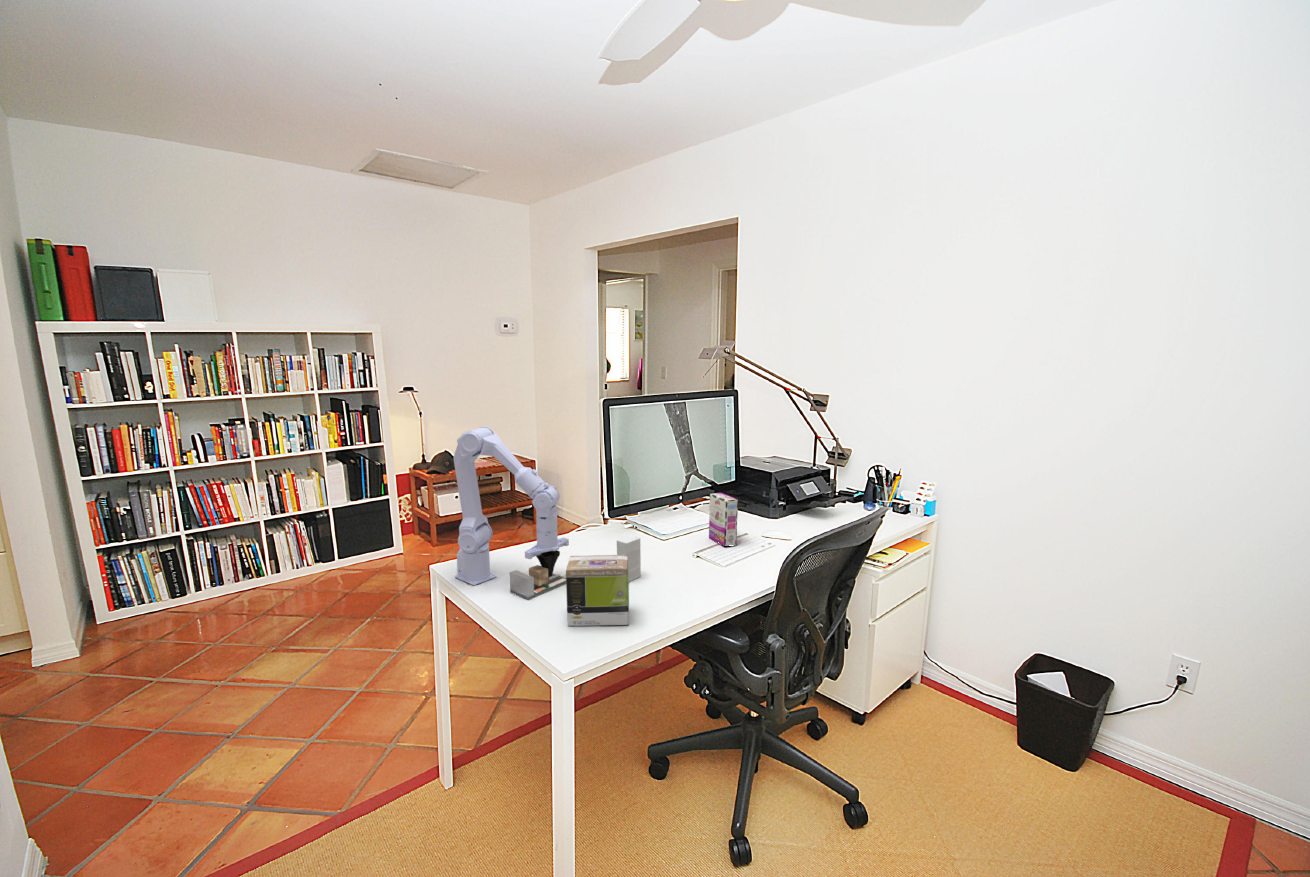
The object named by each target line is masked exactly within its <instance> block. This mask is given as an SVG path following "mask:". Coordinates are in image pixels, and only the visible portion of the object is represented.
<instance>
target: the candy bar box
mask: <svg viewBox="0 0 1310 877" xmlns="http://www.w3.org/2000/svg"><path fill="white" fill-rule="evenodd" d="M738 509H739V499H738V498H735V497H733V496H730V495H728V494H725V493H723V492H715V493H710V494H709V518H708V519H709V520H708V522H709V523H708V525H709V526H708V538H709V539H710V540H711V539H712V540H711V541H713V540H714V541H713V542H715V541H716V542H719V543H720V544H721V545H723V546H729V545H736V546H737V535H738V532H737V530H738V515H739V514H738ZM716 542H715V543H716ZM720 544H719V545H720ZM721 545H720V546H721ZM723 546H722V547H723Z"/></svg>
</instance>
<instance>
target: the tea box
mask: <svg viewBox="0 0 1310 877" xmlns="http://www.w3.org/2000/svg"><path fill="white" fill-rule="evenodd" d="M565 578H566V584H565V587H566V588H565V589H566V592H565V594H566V614H567V615H566V617H567V626H568V627H572V626H573V627H576V626H580V627H582V626H583V627H584V626H585V627H586V626H629V625H630V624H629V621H630V618H629V614H630V613H629V612H630V592H629V591H630V588H629V587H630V585H629V584H630V583H629V575H628V555H617V554H602V555H600V554H599V555H597V554H596V555H570V556H569V558H568V563H567V566H566V569H565Z"/></svg>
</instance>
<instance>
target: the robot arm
mask: <svg viewBox="0 0 1310 877" xmlns="http://www.w3.org/2000/svg"><path fill="white" fill-rule="evenodd" d="M456 442H457V444H456V447H455V448H456V449H455V451H454V453H453V465H454V472H455V477H456V483H457V491H458V497H459V502H460V503H459V504H460V507H461V509H460V510H461V515H462V520H461V521H460V522H461V523H460V525H459V527H458V531H459V532H458V533H459V535H458V538H457V544H458V546H459V550H458V551H457V554H456V567H457V568H456V570H457V574H456V575H454V577H455V578H457V579H459V580H460V581H462V582H464V583H467V584H470V585H472V586H475V585H478V584H481V583H484V582H487V581H490V580H492V579H495V578H497V574H495V573H492V572H491V565H490V563H491V562H490V541H491V539H492V537H493V529H492V526H490V524H489V520H488V518H487V516H486V515H485V514H483V510H482V503H481V502H482V501H481V496H480V495H481V494H480V489H479V488H480V487H479V483H478V478H477V476H478V475H477V469H476V464H475V461H476V460H477V459H478V457H479V456H489V457H494V458H495V459H496V460H497V461H498V462H499V463H501V465H503V466H504V467H505V468H506V469H507V470H508V471H509V472H510V473H512V475H514V482H515V483H516V484H517V485H518V486H519V488H521V490H522V491H524V493H526V495H528V497H529V498H531V499H532V501H531V502H532V505H533V507H534V509H535V511H536V513H535V514H536V515H535V516H536V517H535V518H536V519H535V520H536V523H535V524H536V544H535V545H534V546H532V547H531V548H529V549H527V550H525V551H524V558H525V559H527V560H533V558H535V557H536V558H537V561H538V562H539V564H540V566H542V567H545V568H548V569H549V577H551V576H552V574H554V569H555V565H556V562H557V560H558V559H559V557H560V555H561V551H560V548H563V547H568V546H569V545H570V542H569V540H570V539H569V538H567V537H562V538H558V507H557V504H558V502H559V500H560V493H559V491H558V489H557V487H556V486H554V485H550V484H549V483H548V482H547V481H544V479H542V477H541V476H539V475H538V474H537V473H538V470H536V469H535V468H533V469H532V467H527V466H523V464H522V463H521V462H520V461H519V459H517V457H516V456H515V455H514V454H513V453H512V451H510V449H509V448H508V447H507V446H506V445H505V444H504V443H503V440H502V439H501V438H500V436H499V435H498V434H497V433H495V432H494V430H493V429H492V428H490V427H489V426H480V427H478V428H475V429H472V430H467V431H464V432H463V433H462V434H461V435H460V436H459V437H458V438H457V439H456Z"/></svg>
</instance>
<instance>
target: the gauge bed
mask: <svg viewBox="0 0 1310 877" xmlns="http://www.w3.org/2000/svg"><path fill="white" fill-rule="evenodd" d="M546 584H547V585H549V587H544V586H542V585H541V586H538V585H535V584H534V577H532V576H529V574H527V573H524V572H522V571H519V570H516V569H515V570H512V571H510V572H509V592H510V593H511V594H513V593H514V594H513V595H515V594H516V596H519V597H520V598H522V599H525V600H527V601H529V600H532V599H533V598H537V597H538V596H541V595H543V594H546V593H548V592H550V591H552V590H556V589H557V588H560V587H561V586H564V585H566V577H564V576H561V574H559V573H558V574H556V573H553V574H552V576H551V577H549V581H548V583H546Z"/></svg>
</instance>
